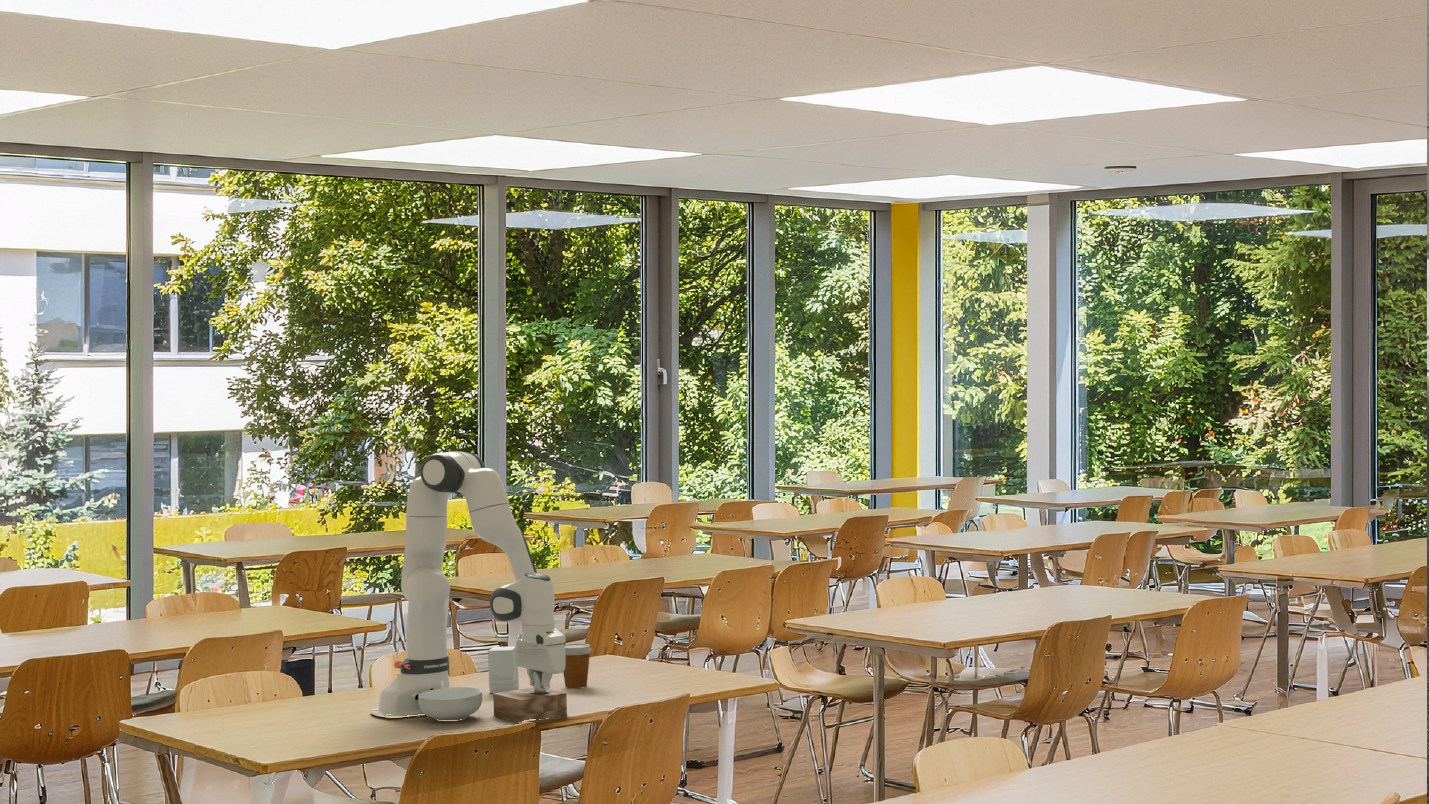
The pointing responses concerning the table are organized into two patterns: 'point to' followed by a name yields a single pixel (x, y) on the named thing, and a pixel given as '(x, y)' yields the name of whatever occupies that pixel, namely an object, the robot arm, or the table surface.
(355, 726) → the table surface
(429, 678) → the robot arm
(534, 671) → the pin
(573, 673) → the disposable coffee cup
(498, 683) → the supplement box
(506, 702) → the socket block
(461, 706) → the cereal bowl
